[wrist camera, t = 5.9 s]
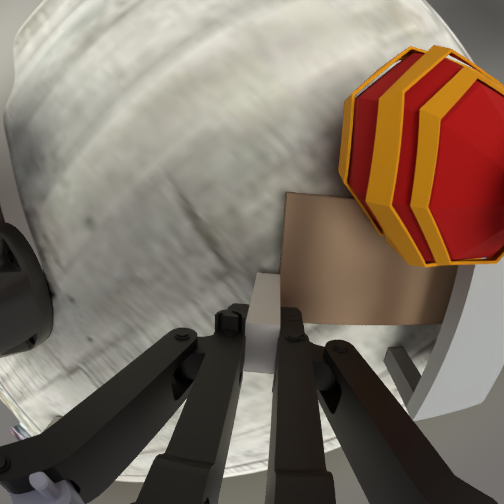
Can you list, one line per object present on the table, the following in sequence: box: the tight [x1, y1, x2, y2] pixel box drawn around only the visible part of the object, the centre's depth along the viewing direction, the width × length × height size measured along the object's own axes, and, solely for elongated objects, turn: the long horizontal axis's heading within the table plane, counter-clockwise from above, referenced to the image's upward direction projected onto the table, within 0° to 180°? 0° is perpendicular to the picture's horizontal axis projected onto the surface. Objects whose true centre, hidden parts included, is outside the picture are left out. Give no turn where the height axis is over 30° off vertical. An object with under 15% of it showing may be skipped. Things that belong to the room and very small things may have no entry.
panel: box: [279, 192, 459, 325], centre depth 17 cm, size 14×8×3 cm, turn 87°
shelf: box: [384, 256, 504, 421], centre depth 14 cm, size 8×16×8 cm, turn 177°
